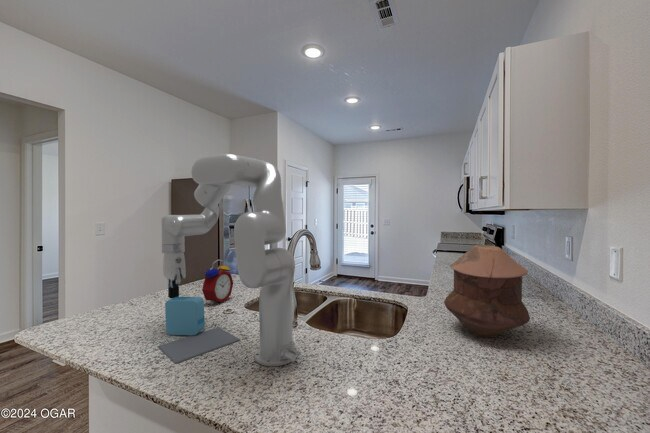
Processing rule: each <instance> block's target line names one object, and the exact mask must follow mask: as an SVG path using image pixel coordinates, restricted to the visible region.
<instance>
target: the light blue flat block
mask: <svg viewBox="0 0 650 433" xmlns="http://www.w3.org/2000/svg"><path fill="white" fill-rule="evenodd" d="M164 307H165V308H164V310H165V312H164V313H165V331H166V333H167V335H171V336H191V335H196V334H198V333H201V332H203V330H204V329H205V328H206V326H205V324H206V323H205V320H206V319H205V299H203V298H202V297H201V296H179V297H175V298H169V299H168V300H166V301H165V305H164Z"/></svg>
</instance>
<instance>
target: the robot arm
mask: <svg viewBox="0 0 650 433" xmlns="http://www.w3.org/2000/svg"><path fill="white" fill-rule="evenodd" d="M190 170H191V171H190V172H191V177H192V180H193V181H194V182H195V183H196V184H198V186H197V187H196V189H195V190H194V192H193V196H194V199H195V200H196V202H197V203H198V204H200V206H202V207H203V208H204V209H203V211H202V212H201V213H200V214H165V215H163V216H162V217H161V253H162V254H163V268H162V269H163V270H162V271H163V273H162V274H163V276H164V278H166V279H167V287H168V289H167V290H168V291H167V292H168V298H169V299H172V298H175V297H180V284H181V283H182V282H181V281H182V280H181V279H183V280H184V279H186V277H187V276H186V275H187V274H186V273H187V270H186V258H185V254H184V253H185V251H186V250H185V249H186V247H185V237H189V236H196V235H197V236H198V235H199V236H201V235H204V234H207V233H209V231H210V230H211V229H212V228H213V227H214V225H215V224H216V223H217V221H218V219H219V215H220V207H219V204H220V203H221V201H222V200H223V199H224V197H225V196H226V194H227V193H228V192H229V191H230V189H231V188H232V187H233V186H245V187H247V186H248V187H255V189H254V192H253V197H252V203H253V204H252V205H253V211H248V212H244V213H242V214H241V215H240V216H239V217H238V218H237V220H236V221H235V223H234V228H233V241H234V242H233V243H234V250H235V259H236V268H237V272H238V273H237V274H238V276H239V279H240V281H241V283H242V284H243V285H244V286H246V287H247V288H249V289H258V288H259V298H258V300H259V302H258V305H259V306H258V309H259V310H258V312H259V319H258V320H259V347H258V348H257V349H256V350H255V352H254V356H253V357H254V360H255V362H256V363H257V364H259V365H262V366H263V367H264V366H265V367H280V366H284V365H287V364H290V363H294V362H296V360H297V358H298V356H299V355H300V351H299V349H298V347H297V346H296V345H295V341H294V340H293V286H294V285H293V283H294V278H295V272H296V271H295V269H296V261H295V258H294V255H293V254H292V253H291V251H289V250H288V249H286V248H282V247H274V248H268V249H266V247H265V246H266V245H271V244H277V243H279V242H281V241H283V240H284V238H285V236H286V234H287V229H286V228H287V227H286V219H285V218H286V217H285V212H284V203H283V196H282V195H283V194H282V179H281V178H282V177H281V174H280V171H279V169H278V167H276V166H275V165H274V164H273V163H270V162H268V161H266V160H262V159H258V158H254V157H250V156H249V157H248V156H243V155H238V154H234V153H233V154H232V153H222V154H215V155H208V156H207V155H206V156H203V157H199V158H198V159H197V160H196V161H194V163H193V165H192V168H191V169H190Z"/></svg>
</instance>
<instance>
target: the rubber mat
mask: <svg viewBox="0 0 650 433" xmlns="http://www.w3.org/2000/svg"><path fill="white" fill-rule="evenodd" d="M240 341H241V339H240V338H239V337H237V336H235V335H234V334H232V333H230V332H228V331H226V330H225V329H224V328H221V327H220V326H217V327H214V328H211V329H207V330H204V331H201V332H199V333H198V334H196V335H187V336H185V337H182V338H178V339H175V340H172V341H169V342H165V343H162V344H159V345H157V348H158V349H159V350H160V351H161V352H162V353H164V355H165V356H167V357H168V358H169V360H171V361H172V363H174V365H177V364H180V363H183V362H185V361H188V360H190V359H194V358H196V357H199V356H202V355H204V354H207V353H209V352H213V351H215V350H219V349H220V348H223V346H224V347H226V346H229V345H231V344H234V343H237V342H240Z"/></svg>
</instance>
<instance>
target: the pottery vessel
mask: <svg viewBox="0 0 650 433" xmlns="http://www.w3.org/2000/svg"><path fill="white" fill-rule="evenodd" d="M449 267H451V269H452V270H453V290H452V291H451V292H450V293H448V295H447V296H446V297H445V299H444V302H443V303H444V306H445V308H446V309H447V311H449V312H450V313H451V314H452V315H454V317H455V318H457V320H458V321H459V322H460V323H461V324H463V325H464V327H465V328H466V329H467V331H468V332H469V333H471V334H473V335H475V336H478V337H483V338H495V337H497V336H499V334H502V333H504V332H507V331H510V330H513V329H516V328H519V327H521V326H522V327H523V326H524V325H526V324H528V323H529V322H530V318H531V316H530V313H529V311H528V309H527V306H526V305H525V304H524V302H523V301H522V299H523V277H525V276H526V275H527V274H528V269H527V268H525V267H523V266H522V265H521V264H519V263H518V262H517V261H516V260H514V259H513V258H512V257H511V256H510V255H509V254H508V253H507V252H506V251H504V250H503V248H501V247H499V246H497V245H487V244H475V245H473V246H472V247H471V248H469V249H468V250H467V251H466V252H465V253H464V254H463V255H462V256H460V257H459V258H458V259H457V260H456V261H454V262H453V263H451V264H450V265H449Z"/></svg>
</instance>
